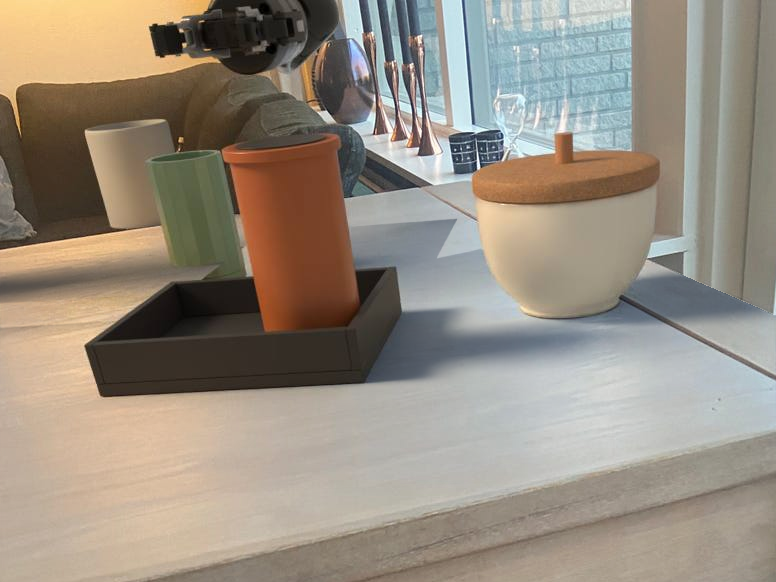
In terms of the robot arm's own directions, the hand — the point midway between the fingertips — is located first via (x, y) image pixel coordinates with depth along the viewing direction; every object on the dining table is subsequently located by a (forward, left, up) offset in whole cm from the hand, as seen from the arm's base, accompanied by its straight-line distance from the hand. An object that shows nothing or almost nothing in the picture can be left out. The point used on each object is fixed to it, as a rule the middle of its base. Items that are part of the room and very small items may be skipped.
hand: (201, 37), depth 84 cm
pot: (+15, -35, -17) cm, 42 cm away
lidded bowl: (+32, -26, -18) cm, 45 cm away
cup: (0, -11, -18) cm, 21 cm away
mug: (-14, +12, -18) cm, 26 cm away
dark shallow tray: (+11, -33, -18) cm, 39 cm away
